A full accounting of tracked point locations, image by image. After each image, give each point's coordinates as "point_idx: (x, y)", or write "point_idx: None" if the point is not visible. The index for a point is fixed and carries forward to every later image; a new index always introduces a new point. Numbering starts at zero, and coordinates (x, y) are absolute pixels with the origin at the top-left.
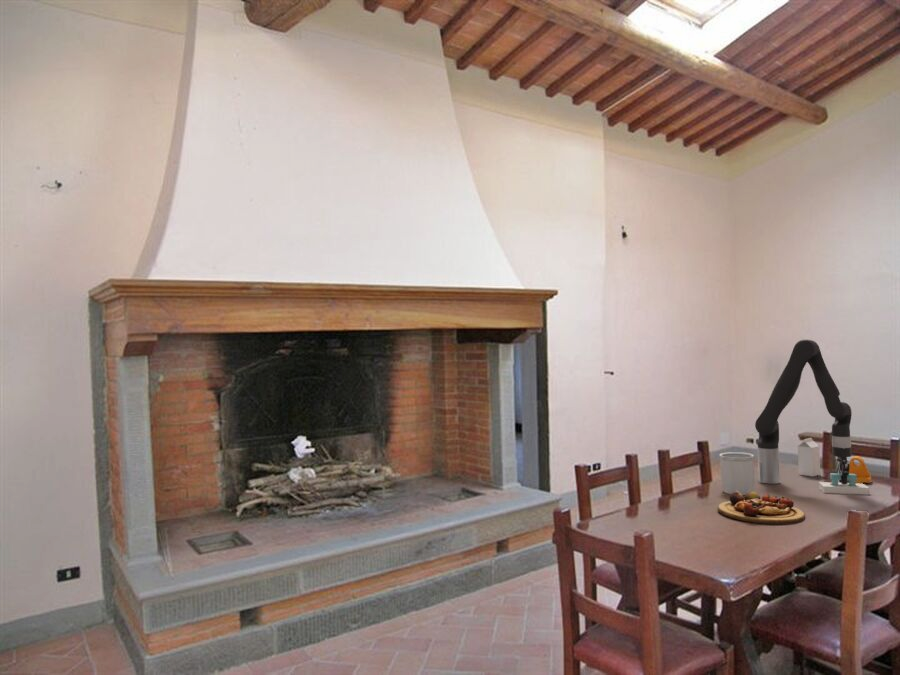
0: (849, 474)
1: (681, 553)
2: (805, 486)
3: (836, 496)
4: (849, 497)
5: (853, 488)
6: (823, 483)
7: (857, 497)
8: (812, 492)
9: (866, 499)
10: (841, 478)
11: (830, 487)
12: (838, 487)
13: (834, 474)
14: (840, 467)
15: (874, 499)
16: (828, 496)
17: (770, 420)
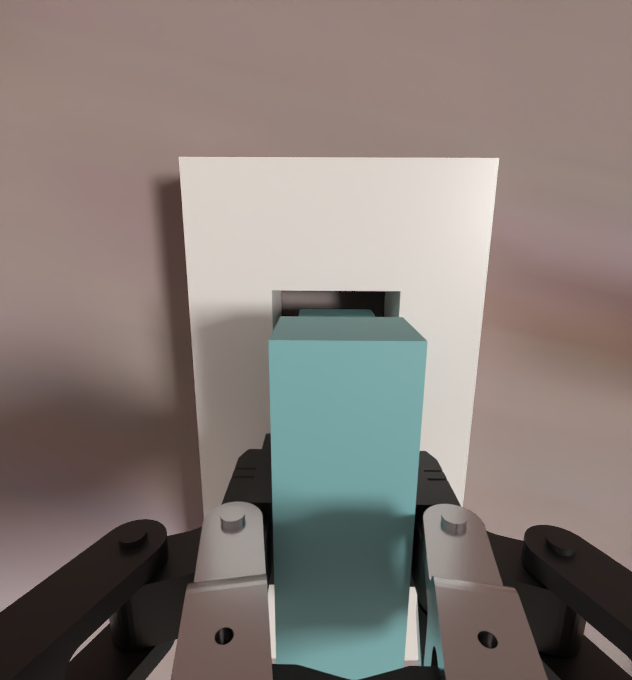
0: (327, 653)
1: None
2: (584, 8)
3: (53, 274)
4: (47, 394)
5: (208, 510)
6: (397, 207)
7: (74, 465)
8: (203, 22)
9: (11, 517)
10: (257, 473)
11: (188, 254)
12: (195, 356)
13: (281, 402)
14: (174, 675)
15: (36, 577)
16: (21, 181)
17: None
